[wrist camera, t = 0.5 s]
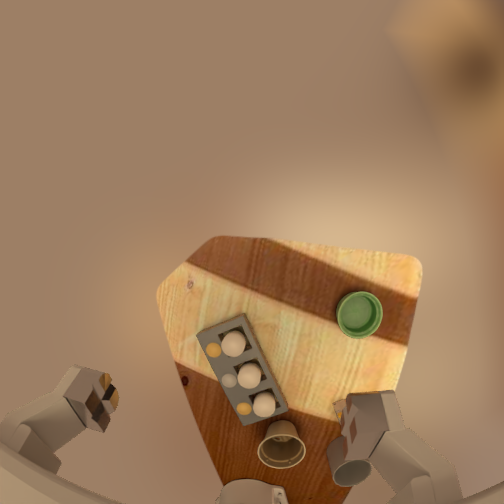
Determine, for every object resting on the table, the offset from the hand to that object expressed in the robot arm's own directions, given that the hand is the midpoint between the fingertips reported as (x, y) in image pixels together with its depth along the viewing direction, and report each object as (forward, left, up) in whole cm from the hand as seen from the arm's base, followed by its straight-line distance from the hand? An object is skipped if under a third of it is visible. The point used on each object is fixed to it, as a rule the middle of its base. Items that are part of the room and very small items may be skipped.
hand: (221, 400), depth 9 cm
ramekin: (-13, -14, -50) cm, 53 cm away
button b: (-15, +10, -47) cm, 50 cm away
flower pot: (-32, +10, -50) cm, 60 cm away
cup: (-44, -1, -50) cm, 66 cm away
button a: (-22, +10, -47) cm, 53 cm away
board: (-15, +11, -49) cm, 53 cm away
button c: (-8, +10, -47) cm, 48 cm away
